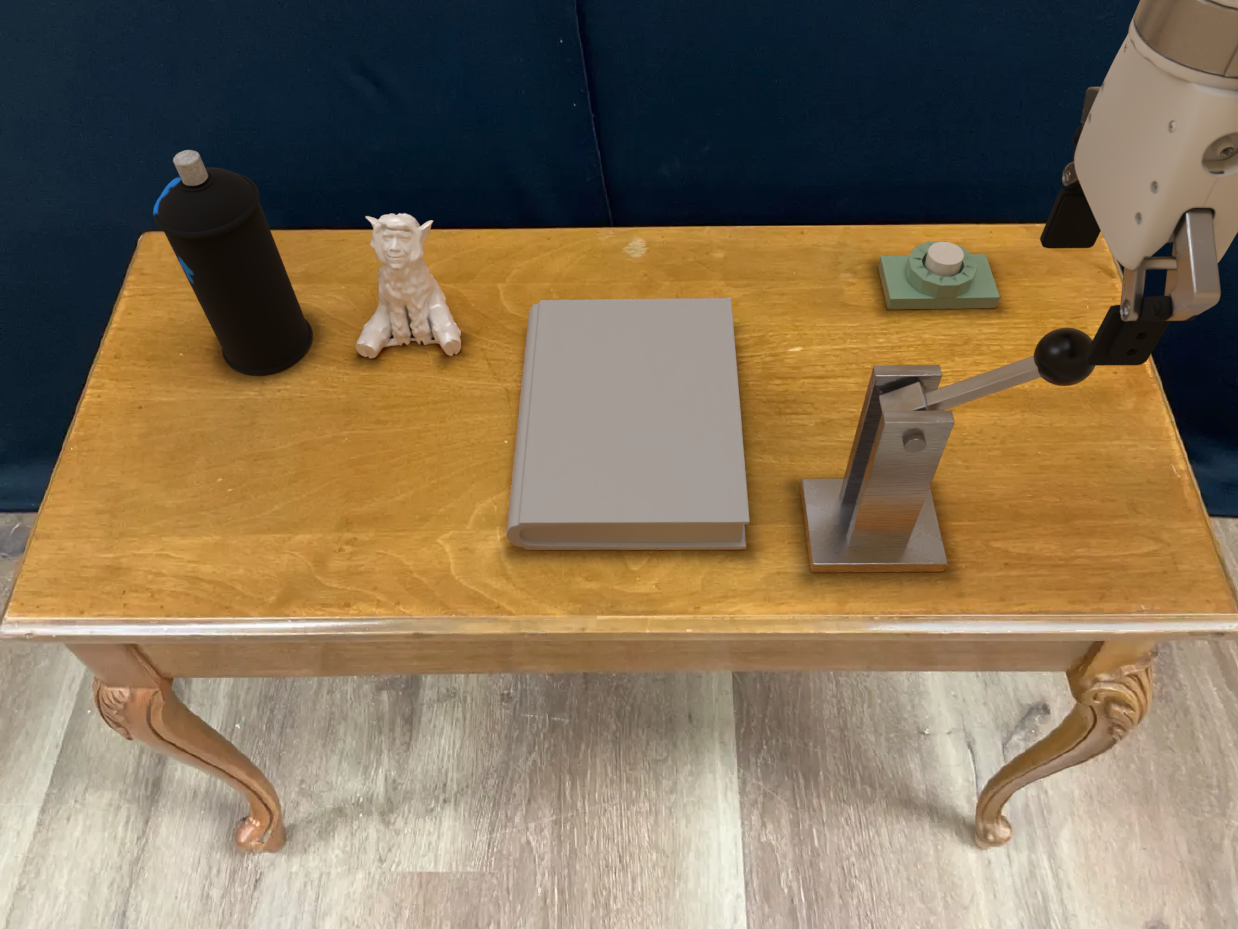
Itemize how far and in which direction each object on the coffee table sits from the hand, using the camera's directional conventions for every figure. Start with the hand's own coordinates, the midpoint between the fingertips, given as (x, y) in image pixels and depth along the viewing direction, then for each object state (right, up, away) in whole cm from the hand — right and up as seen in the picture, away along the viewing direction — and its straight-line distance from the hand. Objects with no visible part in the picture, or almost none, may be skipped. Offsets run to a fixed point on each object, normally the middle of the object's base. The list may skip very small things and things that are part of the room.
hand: (1088, 300), depth 56 cm
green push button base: (+3, +7, +35) cm, 36 cm away
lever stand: (-8, -14, +19) cm, 25 cm away
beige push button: (+3, +9, +33) cm, 34 cm away
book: (-27, -7, +26) cm, 38 cm away
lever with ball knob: (-3, -5, +7) cm, 9 cm away
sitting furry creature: (-46, +3, +34) cm, 58 cm away
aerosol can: (-60, +2, +33) cm, 68 cm away
